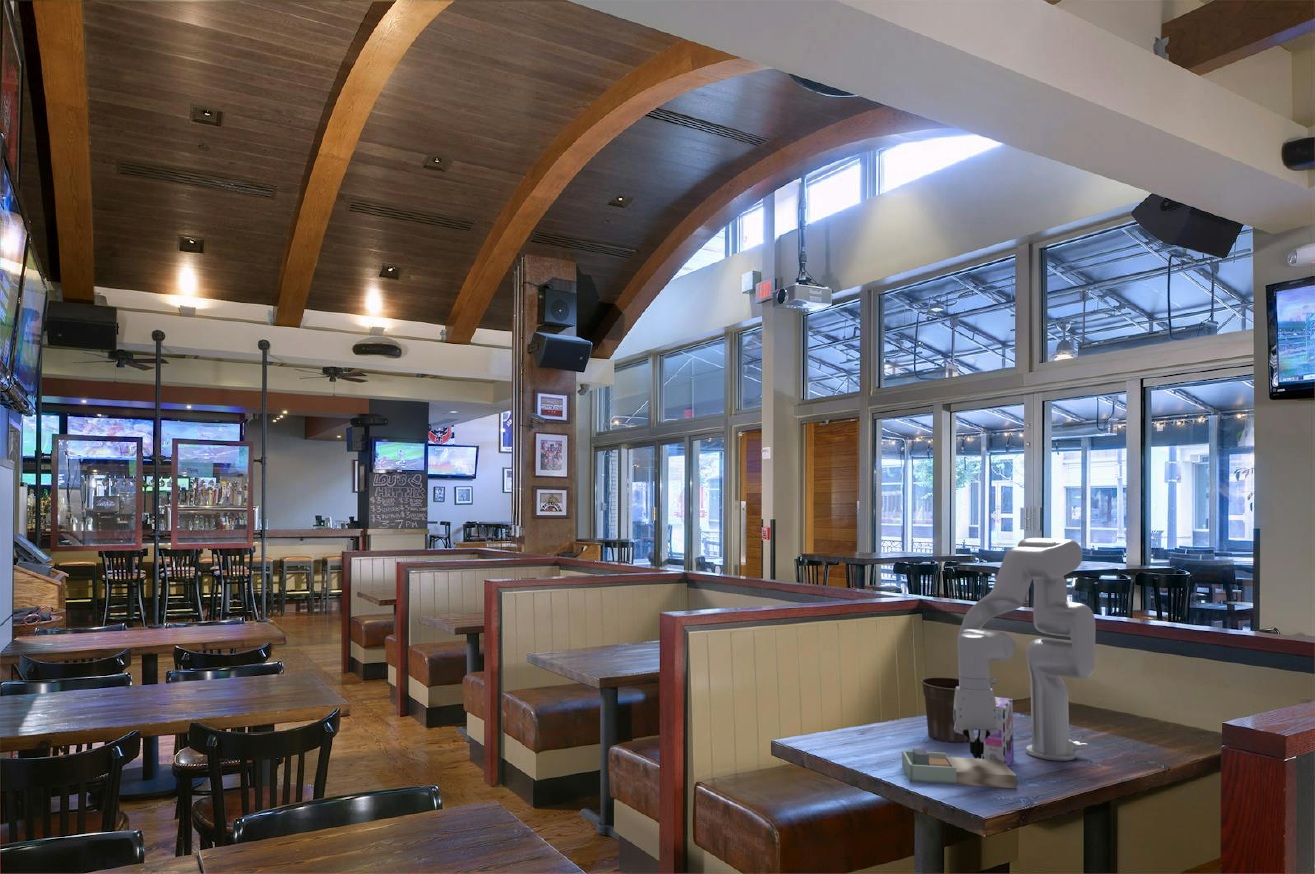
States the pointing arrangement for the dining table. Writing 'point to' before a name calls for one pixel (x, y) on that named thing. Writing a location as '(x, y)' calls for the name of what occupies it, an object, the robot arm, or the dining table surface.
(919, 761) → the tile
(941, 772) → the tray
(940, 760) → the tile
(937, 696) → the plant pot
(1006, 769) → the tan wooden slab
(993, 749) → the candy box
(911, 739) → the dining table surface
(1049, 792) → the dining table surface
